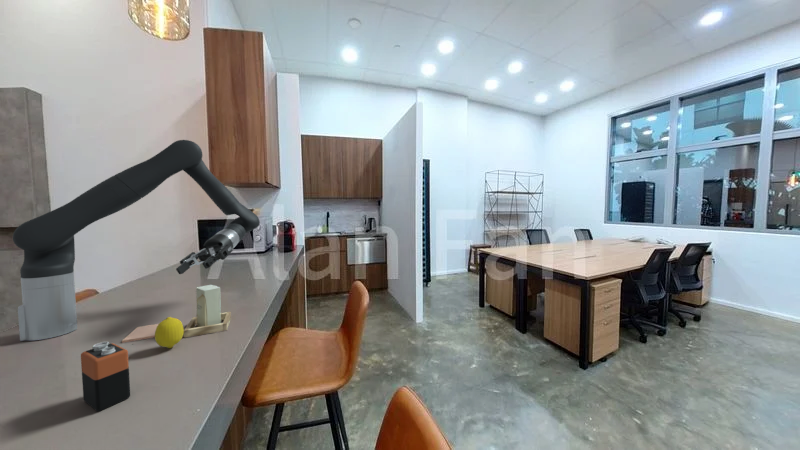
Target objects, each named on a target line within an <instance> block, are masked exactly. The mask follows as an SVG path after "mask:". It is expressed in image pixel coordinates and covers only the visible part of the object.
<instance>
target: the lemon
mask: <svg viewBox="0 0 800 450" xmlns="http://www.w3.org/2000/svg"><path fill="white" fill-rule="evenodd" d="M157 324H158V326H157V328H156V331H155V337H154V339H155V340H154V341H155V342H156V344H157V345H158V346H160V347H163V348H168V349H172V348H173V347H174V346H175V345H177V344H178V343H179V342H180V341H181V340H182V339H183V338H184V329H185V328H184V325H183V322H182V321H181V320H180V319H178V318H176V317H172V316H168V317H166V318H165V319H163V320H162V321H160V322H159V323H157Z"/></svg>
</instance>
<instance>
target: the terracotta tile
mask: <svg viewBox="0 0 800 450" xmlns="http://www.w3.org/2000/svg"><path fill="white" fill-rule="evenodd" d="M158 324H159V323H156V324H155V323H154V324H149V325H143V326H142V325H141V326H137V327H136V328H135V329H134V330H132V331H131V332H130V333H129V334H128V335H127V336H126V337H124V338H123V339H122V340H121V342H122V344H124V343H130V342H135V341H142V340H147V339H153V338H154V339H155V331H156V328H157V326H158Z"/></svg>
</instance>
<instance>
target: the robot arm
mask: <svg viewBox="0 0 800 450" xmlns="http://www.w3.org/2000/svg"><path fill="white" fill-rule="evenodd" d="M182 171H183V172H184V173H185V174H187V175H188V176H189V177H190V178H191V179H193V180H194V181H195V183H197V185H198V186H199V187H200V188H201V189H202V190H203V192H204V193H205V194H206V195H207V196H208V197H209V198H210V199H211V201H212V202H213V203H214V204H215V205H216V207H218V209H219V210H220V211H221V212H222V213H223V214H224V215H226V216H231V215H236V216H238V217H237V218H235V219H233V220H232V221H230V222H229V224H228V225H227V226H226V227H224V228H223V229H221V230H220V231H218V232H216V233H215V234H214V235H212V236H211V237H210V238H209V239H207V240H206V241H204V244H203V248H202V249H200V250H199V251H198V252H195V251H192V252H191V253H189V254H188V255H187V256H185V257H183V258H182V259H181V260H180V261H179V263H180V265H179V266H177V267H176V269H175V270H176V272H177V273H178V275H183V274H184V273H186V272H187V271H188V270H189V269H190V268H192V267H194V266H195V265H196V266H199V265H201V264H202V266H203V267H204V269H209V268H210V267H212V266H213V265H214V264H215V263H218V262H219V261H220V260H221V261H223V260H225V259H226V258H227V257H229V255H231V253H233V251H234V248H235V247H236V246H237V245H238V244H239V243H240V241H242V240H243V239H244V238H245V236H246V234H247V233H249V232H251V231H253V230H255V229H257V228H259V226H260V223H261V222H260V219H259V217H258V216H257V214H256V213H255V212H253V211H252V210H251V209H249V208H248V207H246V206H245V205H243V204H242V203H241V202H240V201H239V200H238V199H237V197H235V195H234V194H233V193H232V191H230V189H228V187H227V186H225V185H224V183H222V181H220V180H219V179H218V178H217V177H216V175H214V174H213V173H212V172H211V171H210V169H209V168H208V166H207V165H206V163H205V162H204V161H203V151H202V148H201V147H200V145H199V144H197V143H196V142H194V141H192V140H189V139H179V140H176V141H174V142H173V143H171V144H169V145H168V146H167V147H166V148H164V149H162V150H160V152H158V153H157V154H155V155H153V156H152V157H150V158H148V159H147V160H144V161H141V162H139V163H137V164H135V165H133V166H131V167H129V168H128V167H127V168H126V169H124V170H122V171H120V172H117V173H116V174H114V175H111V176H110V177H108V178H107V179H105V180H103V181H101V182H100V183H98V184H96V185H94V186H92V187H91V188H89V189H88V190H86V191H84V192H82V193H81V194H79V196H77V197H75V198H74V199H73V200H71V201H69V202H67V203H65V204H63V205H62V206H60V207H58V208H55V209H53V210H51V211H48V212H46V213H44V214H41V215H40V216H39V215H38V216H37V217H35V218H32V219H30V220H27V221H25V222H23V223H21V224H20V225H19V226H17V228H16V229H15V230H14V232H13V234H12V241H13V244H15V246H16V247H17V248H19V249H21V250H23V257H24V258H23V262H22V265H21V267H20V270H19V273H20V284H21V285H20V287H21V299H22V301H21V302H22V304H21V305H18V307H17V319H18V334H19V341H20V342H23V341H38V340H39V341H40V340H47V339H51V338H55V337H59V336H62V335H63V336H64V335H66V334H68V333H69V334H70V333H72V332H74V331H76V330H78V318H77V302H76V288H75V286H76V285H75V273H74V266H75V261H76V259H75V258H76V254H75V253H76V249H75V235H76V234H78V233H79V232H81V231H82V230H83V229H85V228H86V227H88V226H90V225H92V224H93V223H95V222H97V221H98V220H99V221H100V220H101V219H104V218H106V217H108V216H111V215H114V214H116V213H117V212H120V211H122V210H124V209H126V208H128V207H130V206H132V205H134V204H135V203H137V202H139V201H140V200H142V199H143V198H145V197H146V196H147V195H149V194H150V193H152V192H153V191H154V190H155V189H156V188H158V187H159V186H160V185H162V184H163V183H164V182H165V181H166V180H167V179H169V178H170V177H173V176H174V175H176V174H178V173H179V172H182ZM198 259H199V261H198Z"/></svg>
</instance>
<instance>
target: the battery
mask: <svg viewBox="0 0 800 450" xmlns="http://www.w3.org/2000/svg"><path fill="white" fill-rule="evenodd" d="M91 348H92V349H89V350H85V351H83V352H81V353H80V362H81V379H82V396H83V401H84V402H85V403H87V404H88V405H89V406H90V407H91V408H92V409H94V410H95V411H97V412H101V411H103V410H105V408H106V409H107V408H111V407H112V406H114V405H117V404H119V403H121V402H123V401H125V400H127V399H129V398H130V397H131V385H130V367H129V351H128V349H126V348H123V347H122V346H120V345H117V344H116V343H112V342H109V341H101V342H98V343H95V344H94V343H93V346H91Z"/></svg>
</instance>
